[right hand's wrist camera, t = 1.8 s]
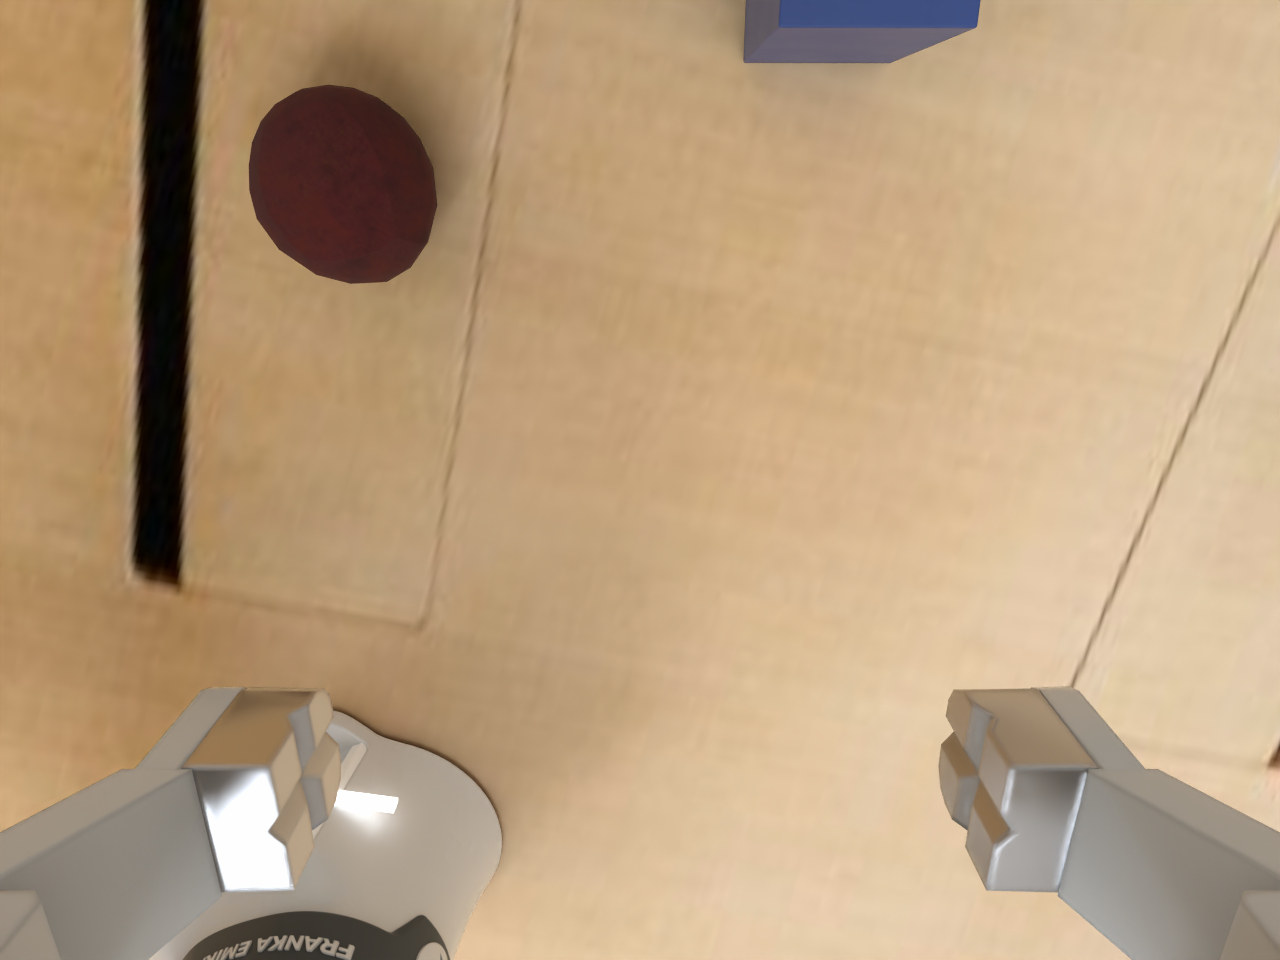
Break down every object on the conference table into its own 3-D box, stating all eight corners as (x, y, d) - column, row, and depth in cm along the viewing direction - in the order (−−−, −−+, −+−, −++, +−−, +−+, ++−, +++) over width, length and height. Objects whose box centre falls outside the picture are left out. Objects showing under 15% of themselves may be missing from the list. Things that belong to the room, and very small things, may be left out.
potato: (415, 70, 35) (363, 48, 28) (478, 250, 38) (444, 268, 31) (258, 122, 36) (172, 113, 29) (330, 295, 38) (266, 322, 32)
